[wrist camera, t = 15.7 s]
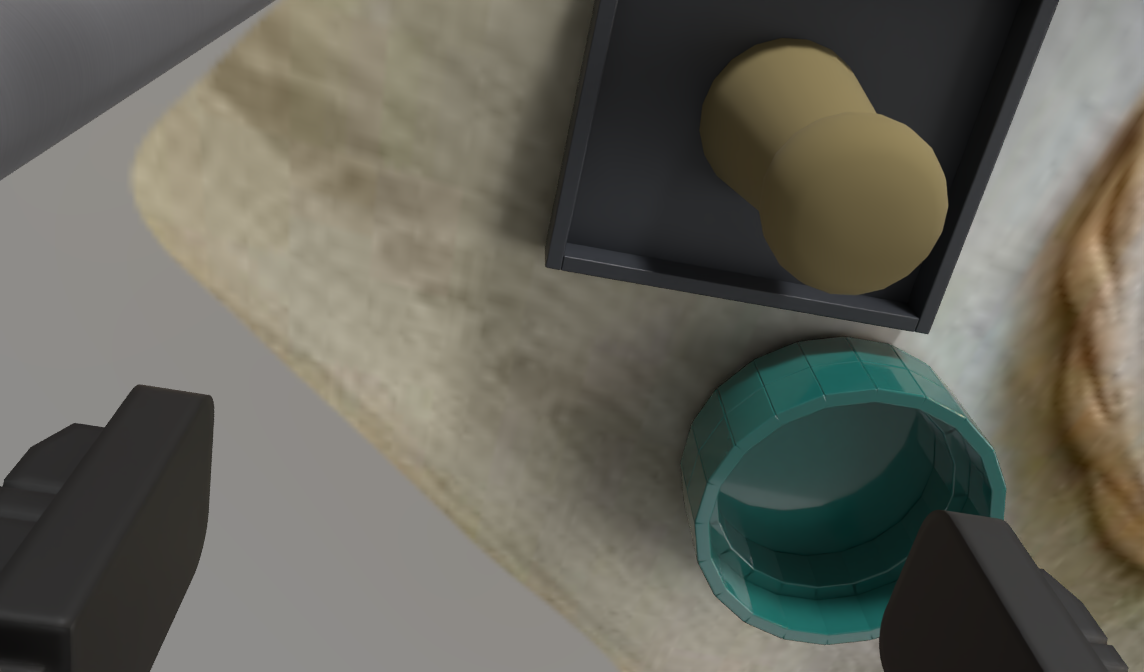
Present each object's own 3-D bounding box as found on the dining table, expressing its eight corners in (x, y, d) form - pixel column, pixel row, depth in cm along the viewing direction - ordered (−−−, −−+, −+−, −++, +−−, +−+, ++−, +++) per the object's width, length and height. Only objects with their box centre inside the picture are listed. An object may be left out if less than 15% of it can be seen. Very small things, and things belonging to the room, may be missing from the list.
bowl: (651, 550, 47) (663, 623, 42) (721, 310, 42) (742, 365, 37) (904, 586, 48) (941, 661, 44) (1003, 359, 43) (1055, 418, 39)
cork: (726, 20, 36) (798, 92, 26) (888, 58, 37) (1017, 142, 27) (680, 183, 39) (730, 304, 29) (832, 215, 39) (932, 344, 29)
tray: (544, 248, 40) (545, 267, 38) (618, -115, 34) (622, -111, 33) (912, 313, 42) (929, 335, 40) (1039, -22, 36) (1065, -14, 34)
